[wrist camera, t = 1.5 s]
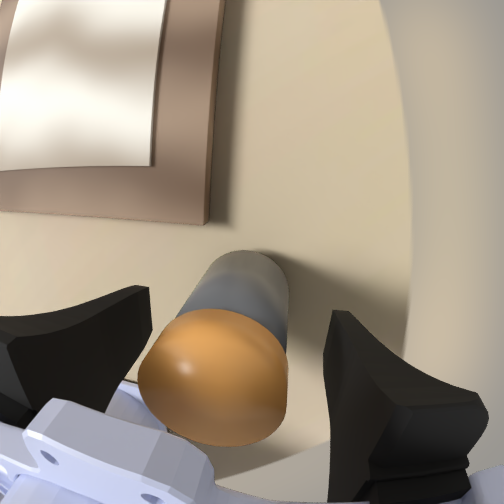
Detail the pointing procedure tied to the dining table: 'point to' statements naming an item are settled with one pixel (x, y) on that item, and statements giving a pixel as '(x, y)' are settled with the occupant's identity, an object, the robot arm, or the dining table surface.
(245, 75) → the dining table surface
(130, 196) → the board
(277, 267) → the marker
